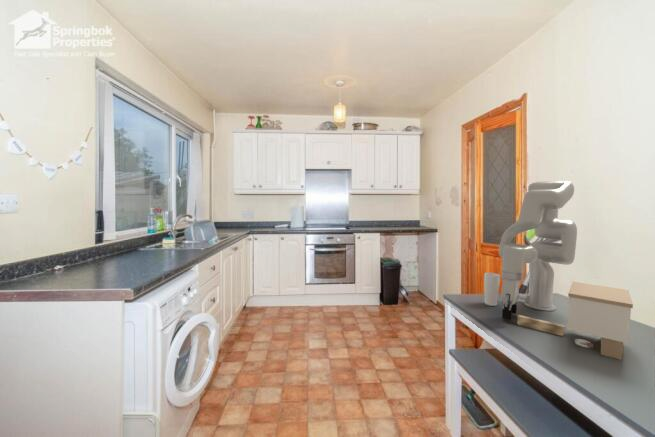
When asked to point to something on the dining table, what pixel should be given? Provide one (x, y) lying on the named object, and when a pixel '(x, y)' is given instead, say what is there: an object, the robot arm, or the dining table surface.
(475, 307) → the dining table surface
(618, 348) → the cabinet
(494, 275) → the drinking glass
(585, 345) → the steel disc
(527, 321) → the two-tone wooden stick
